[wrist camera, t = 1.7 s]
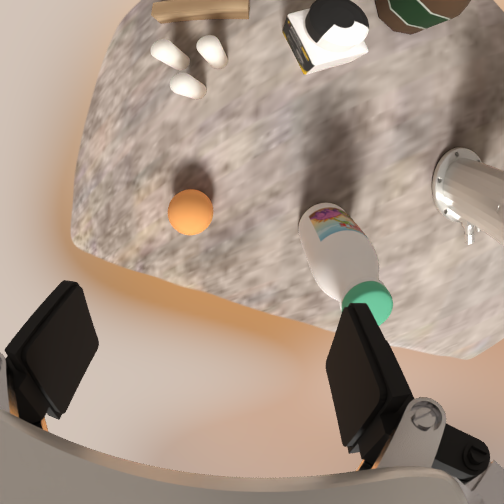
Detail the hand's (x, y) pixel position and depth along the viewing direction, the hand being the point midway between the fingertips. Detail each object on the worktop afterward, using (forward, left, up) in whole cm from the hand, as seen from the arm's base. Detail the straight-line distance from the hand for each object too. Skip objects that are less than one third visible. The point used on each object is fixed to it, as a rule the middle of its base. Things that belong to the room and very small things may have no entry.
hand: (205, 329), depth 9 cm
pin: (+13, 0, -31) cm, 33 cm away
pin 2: (+15, -4, -31) cm, 34 cm away
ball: (-1, +8, -28) cm, 29 cm away
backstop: (+23, -6, -31) cm, 39 cm away
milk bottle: (-12, -7, -31) cm, 34 cm away
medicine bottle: (+12, -17, -31) cm, 37 cm away
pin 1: (+18, 0, -31) cm, 35 cm away
